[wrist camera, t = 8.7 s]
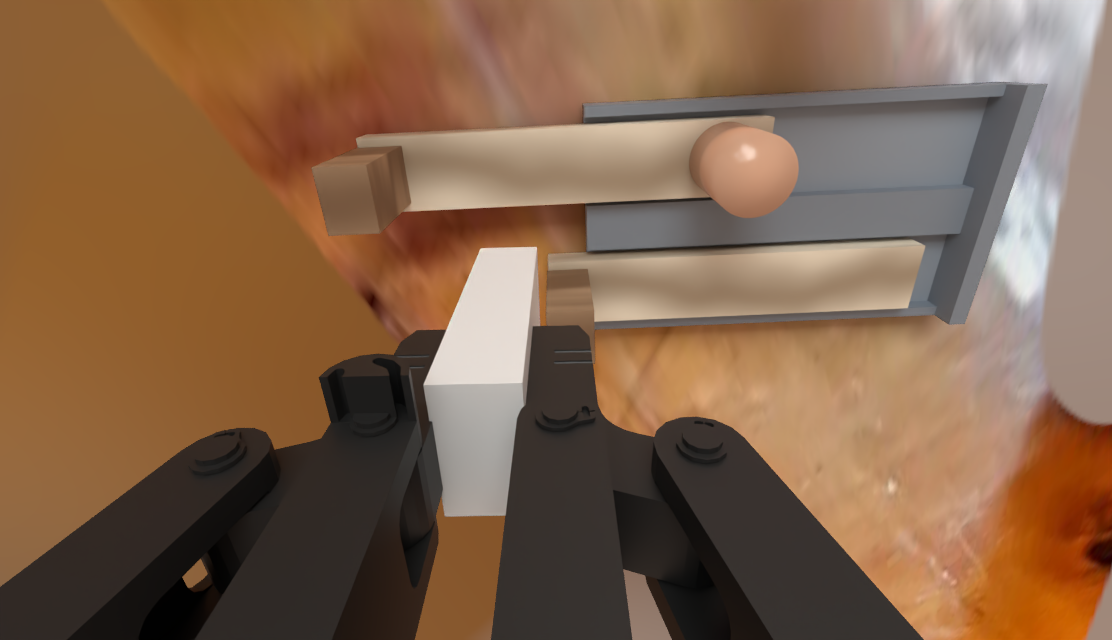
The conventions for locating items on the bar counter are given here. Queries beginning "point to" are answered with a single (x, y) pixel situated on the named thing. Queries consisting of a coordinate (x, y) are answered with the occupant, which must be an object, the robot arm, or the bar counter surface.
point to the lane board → (851, 184)
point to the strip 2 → (730, 281)
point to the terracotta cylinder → (744, 168)
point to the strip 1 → (511, 168)
